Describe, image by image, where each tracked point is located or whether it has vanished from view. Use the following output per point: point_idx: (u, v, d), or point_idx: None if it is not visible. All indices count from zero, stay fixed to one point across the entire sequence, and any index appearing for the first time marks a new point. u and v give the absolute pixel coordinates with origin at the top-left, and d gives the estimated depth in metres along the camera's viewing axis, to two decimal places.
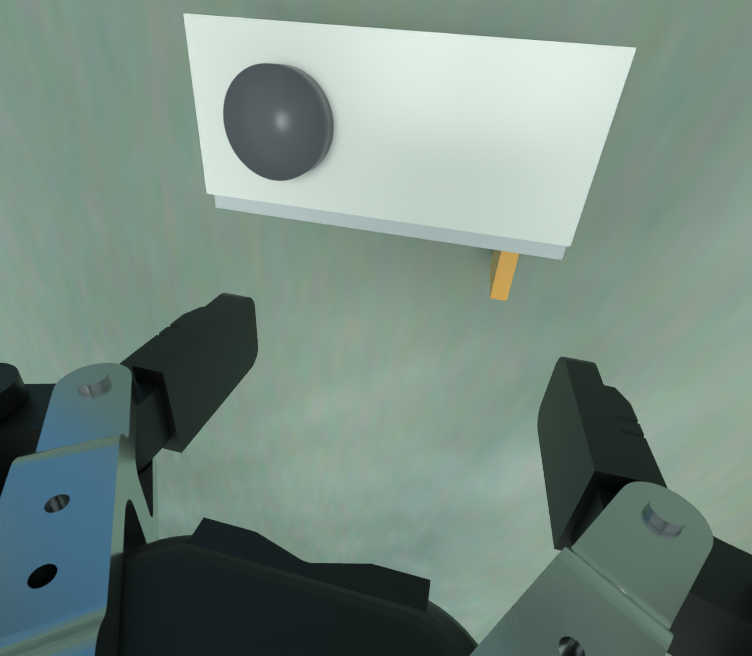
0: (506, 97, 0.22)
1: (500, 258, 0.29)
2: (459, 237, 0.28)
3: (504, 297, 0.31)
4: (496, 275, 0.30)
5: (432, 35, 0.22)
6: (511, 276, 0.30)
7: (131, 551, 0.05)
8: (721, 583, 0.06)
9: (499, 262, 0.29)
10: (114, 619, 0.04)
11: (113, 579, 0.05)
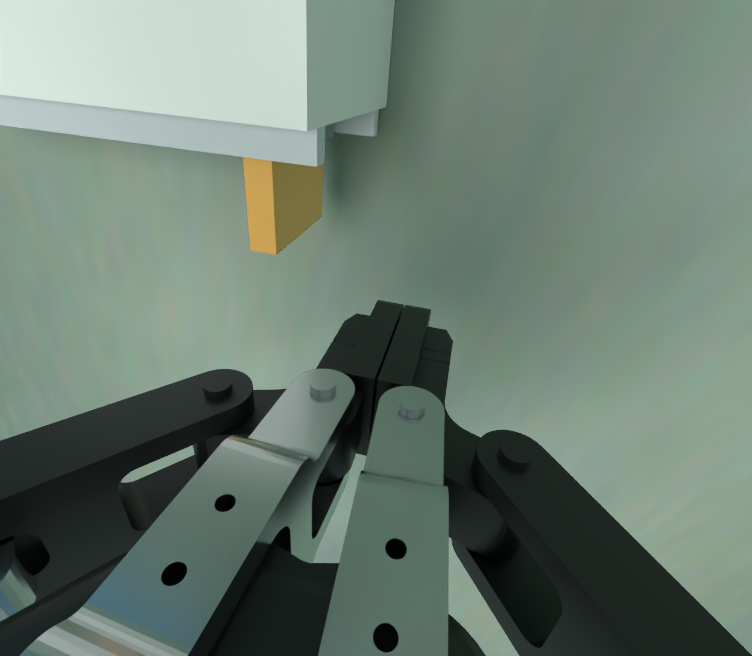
0: None
1: (246, 177, 0.17)
2: (142, 130, 0.15)
3: (271, 249, 0.18)
4: (248, 209, 0.17)
5: None
6: (271, 210, 0.17)
7: None
8: (446, 455, 0.07)
9: (246, 185, 0.17)
10: None
11: (216, 619, 0.04)
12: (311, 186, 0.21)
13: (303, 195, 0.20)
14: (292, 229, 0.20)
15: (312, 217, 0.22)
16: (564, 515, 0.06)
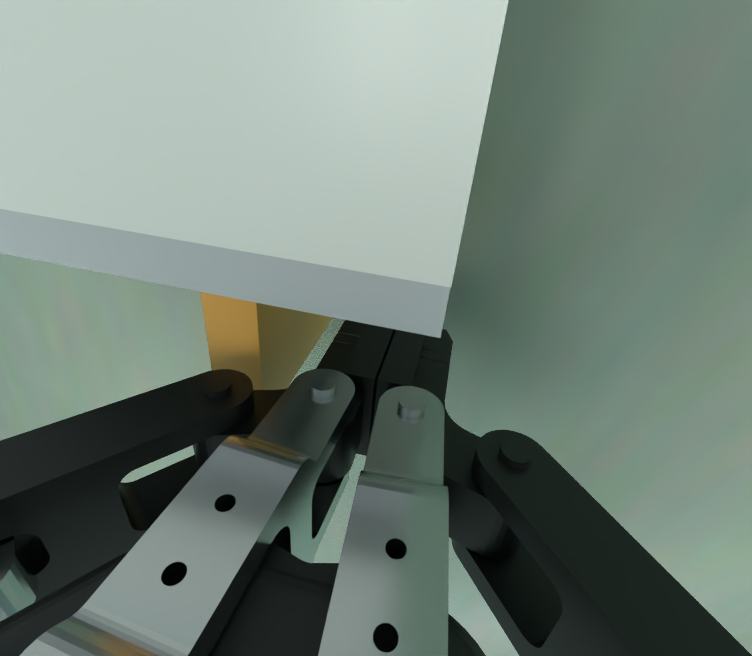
0: None
1: (205, 297, 0.09)
2: (29, 233, 0.07)
3: None
4: (212, 350, 0.09)
5: None
6: (254, 355, 0.09)
7: None
8: (446, 455, 0.07)
9: (206, 310, 0.09)
10: None
11: (217, 619, 0.04)
12: None
13: None
14: (294, 360, 0.11)
15: (325, 318, 0.14)
16: (564, 515, 0.06)
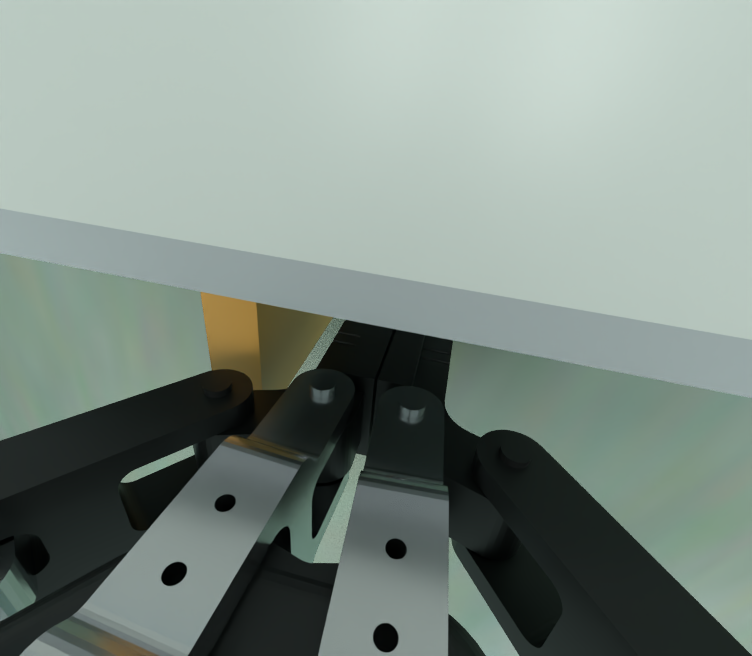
0: None
1: (205, 297, 0.09)
2: (352, 291, 0.06)
3: None
4: (212, 350, 0.09)
5: None
6: (254, 355, 0.09)
7: None
8: (446, 456, 0.07)
9: (206, 310, 0.09)
10: None
11: (216, 619, 0.04)
12: None
13: None
14: (294, 360, 0.11)
15: (325, 319, 0.14)
16: (564, 515, 0.06)
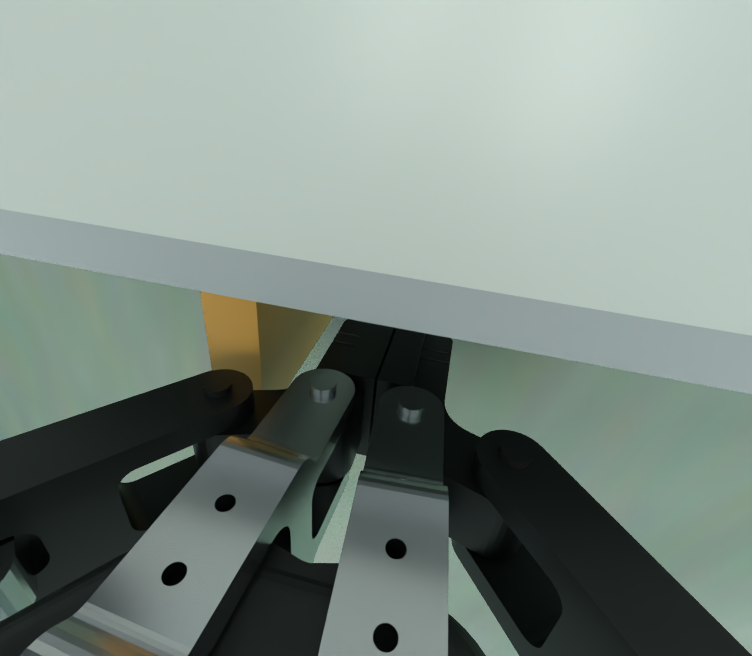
0: None
1: (205, 297, 0.09)
2: (621, 338, 0.05)
3: None
4: (212, 350, 0.09)
5: None
6: (255, 355, 0.09)
7: None
8: (446, 455, 0.07)
9: (206, 310, 0.09)
10: None
11: (217, 619, 0.04)
12: None
13: None
14: (294, 360, 0.11)
15: (325, 318, 0.14)
16: (563, 515, 0.06)
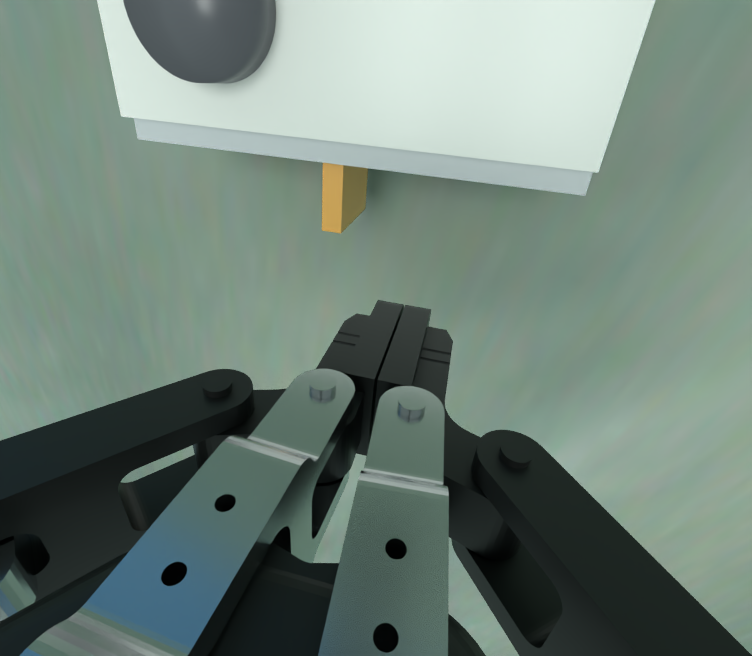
0: None
1: (323, 177, 0.24)
2: (448, 168, 0.21)
3: (337, 229, 0.25)
4: (323, 200, 0.25)
5: None
6: (340, 201, 0.25)
7: None
8: (446, 456, 0.07)
9: (323, 183, 0.24)
10: None
11: (217, 619, 0.04)
12: (361, 185, 0.28)
13: (356, 191, 0.27)
14: (349, 216, 0.27)
15: (360, 208, 0.29)
16: (564, 515, 0.06)
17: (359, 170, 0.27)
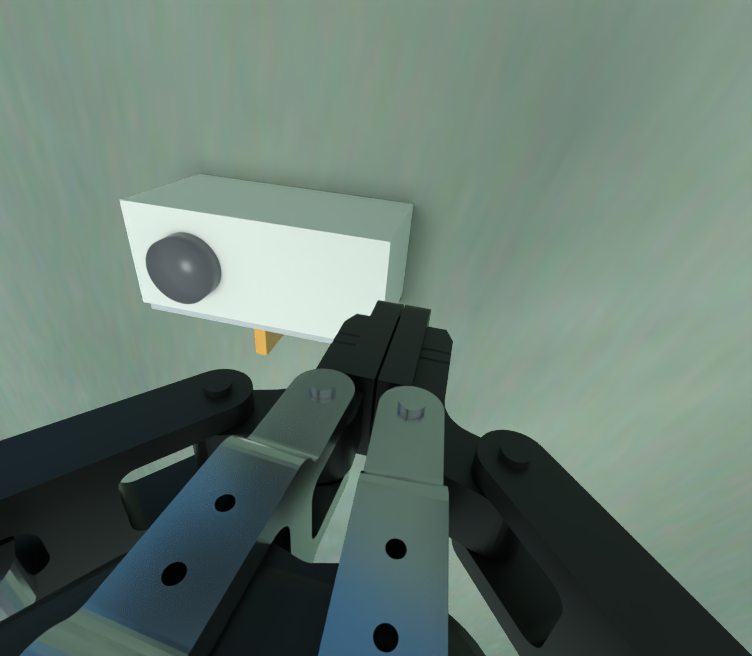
0: (323, 261, 0.35)
1: None
2: (314, 336, 0.40)
3: (264, 353, 0.45)
4: (255, 338, 0.44)
5: (272, 225, 0.34)
6: (264, 340, 0.44)
7: None
8: (446, 456, 0.07)
9: (255, 330, 0.44)
10: None
11: (217, 619, 0.04)
12: None
13: None
14: (273, 341, 0.46)
15: None
16: (564, 515, 0.06)
17: None
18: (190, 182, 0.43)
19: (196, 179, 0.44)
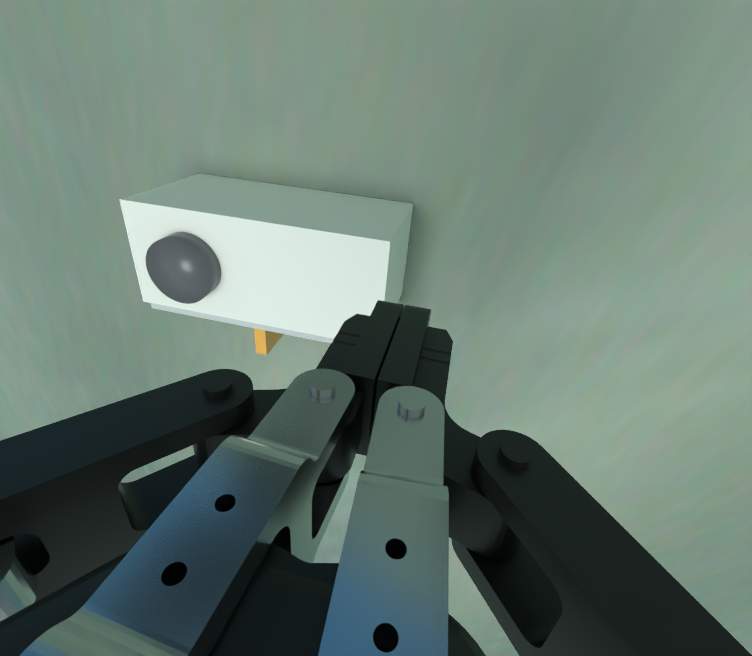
0: (323, 261, 0.35)
1: (254, 328, 0.44)
2: (314, 335, 0.40)
3: (264, 352, 0.45)
4: (255, 338, 0.44)
5: (272, 224, 0.34)
6: (264, 339, 0.44)
7: None
8: (446, 456, 0.07)
9: (255, 330, 0.44)
10: None
11: (217, 620, 0.04)
12: None
13: None
14: (273, 341, 0.46)
15: None
16: (564, 515, 0.06)
17: None
18: (190, 182, 0.43)
19: (196, 179, 0.44)
